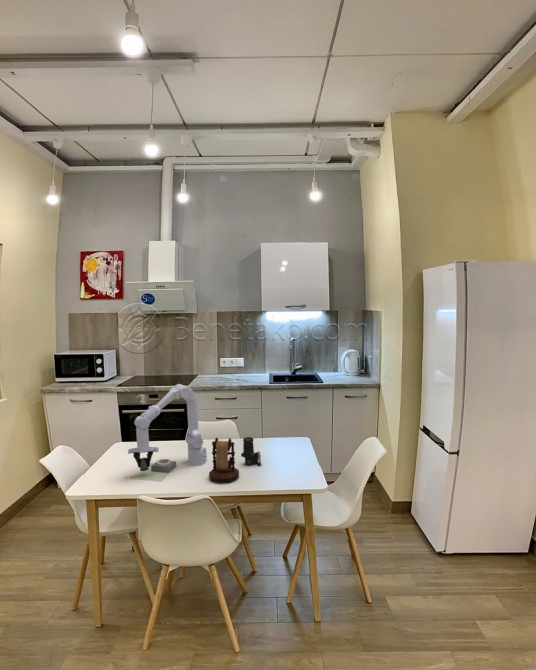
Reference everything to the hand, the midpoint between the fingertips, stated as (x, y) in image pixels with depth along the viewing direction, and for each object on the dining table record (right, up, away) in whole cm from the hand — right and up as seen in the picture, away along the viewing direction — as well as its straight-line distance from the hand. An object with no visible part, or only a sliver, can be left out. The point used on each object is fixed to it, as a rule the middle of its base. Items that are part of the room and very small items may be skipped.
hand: (144, 466), depth 208 cm
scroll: (+41, -5, -3) cm, 41 cm away
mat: (+5, -5, +4) cm, 8 cm away
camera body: (+8, -4, +7) cm, 12 cm away
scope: (+53, -3, +13) cm, 55 cm away
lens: (0, -2, 0) cm, 2 cm away
